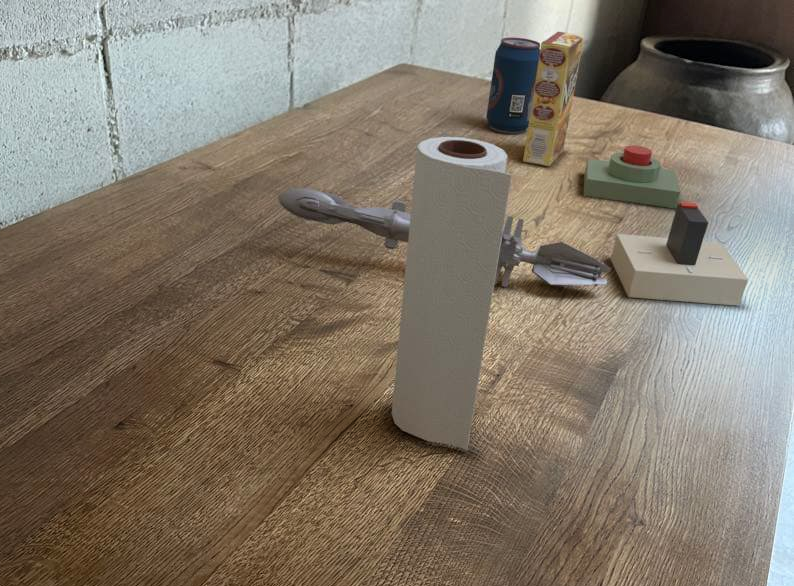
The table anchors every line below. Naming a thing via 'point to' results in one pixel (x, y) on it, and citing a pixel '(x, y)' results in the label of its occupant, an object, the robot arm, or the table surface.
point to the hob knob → (686, 233)
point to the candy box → (552, 97)
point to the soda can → (513, 85)
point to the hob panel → (677, 272)
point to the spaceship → (549, 262)
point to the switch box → (631, 182)
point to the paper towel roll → (448, 285)
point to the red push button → (637, 155)
